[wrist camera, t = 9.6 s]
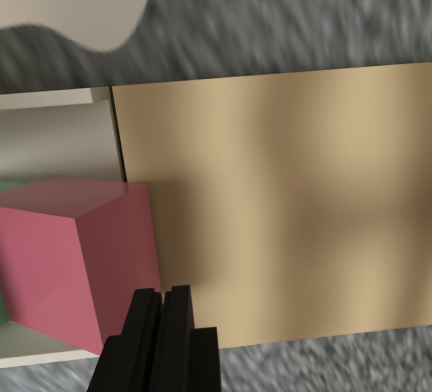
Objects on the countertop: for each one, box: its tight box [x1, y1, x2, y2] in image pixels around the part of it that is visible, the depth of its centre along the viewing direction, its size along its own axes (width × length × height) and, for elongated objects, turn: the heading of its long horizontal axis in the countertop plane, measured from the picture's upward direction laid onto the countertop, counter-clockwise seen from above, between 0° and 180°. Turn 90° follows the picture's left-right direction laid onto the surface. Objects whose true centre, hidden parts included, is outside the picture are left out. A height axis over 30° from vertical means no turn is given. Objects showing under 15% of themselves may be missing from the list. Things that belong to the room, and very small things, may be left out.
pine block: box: [112, 62, 432, 349], centre depth 19 cm, size 16×14×4 cm
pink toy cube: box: [0, 176, 163, 356], centre depth 16 cm, size 6×6×4 cm
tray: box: [0, 86, 125, 368], centre depth 18 cm, size 11×14×4 cm
